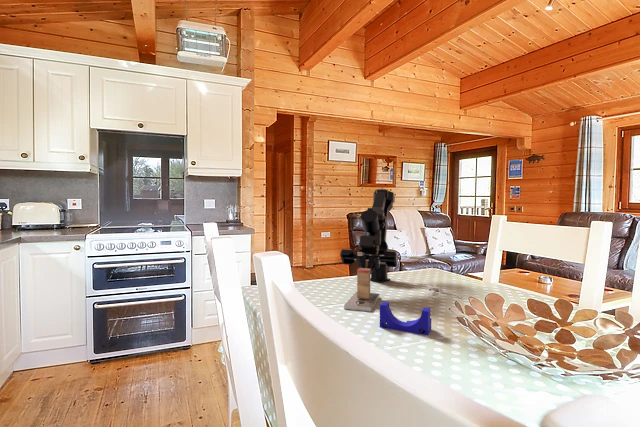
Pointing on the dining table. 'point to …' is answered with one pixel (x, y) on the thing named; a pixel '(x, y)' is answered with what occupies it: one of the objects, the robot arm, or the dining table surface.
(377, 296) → the flange plate
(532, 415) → the dining table surface
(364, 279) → the marker post
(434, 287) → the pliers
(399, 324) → the blue cradle bracket
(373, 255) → the robot arm
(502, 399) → the dining table surface
